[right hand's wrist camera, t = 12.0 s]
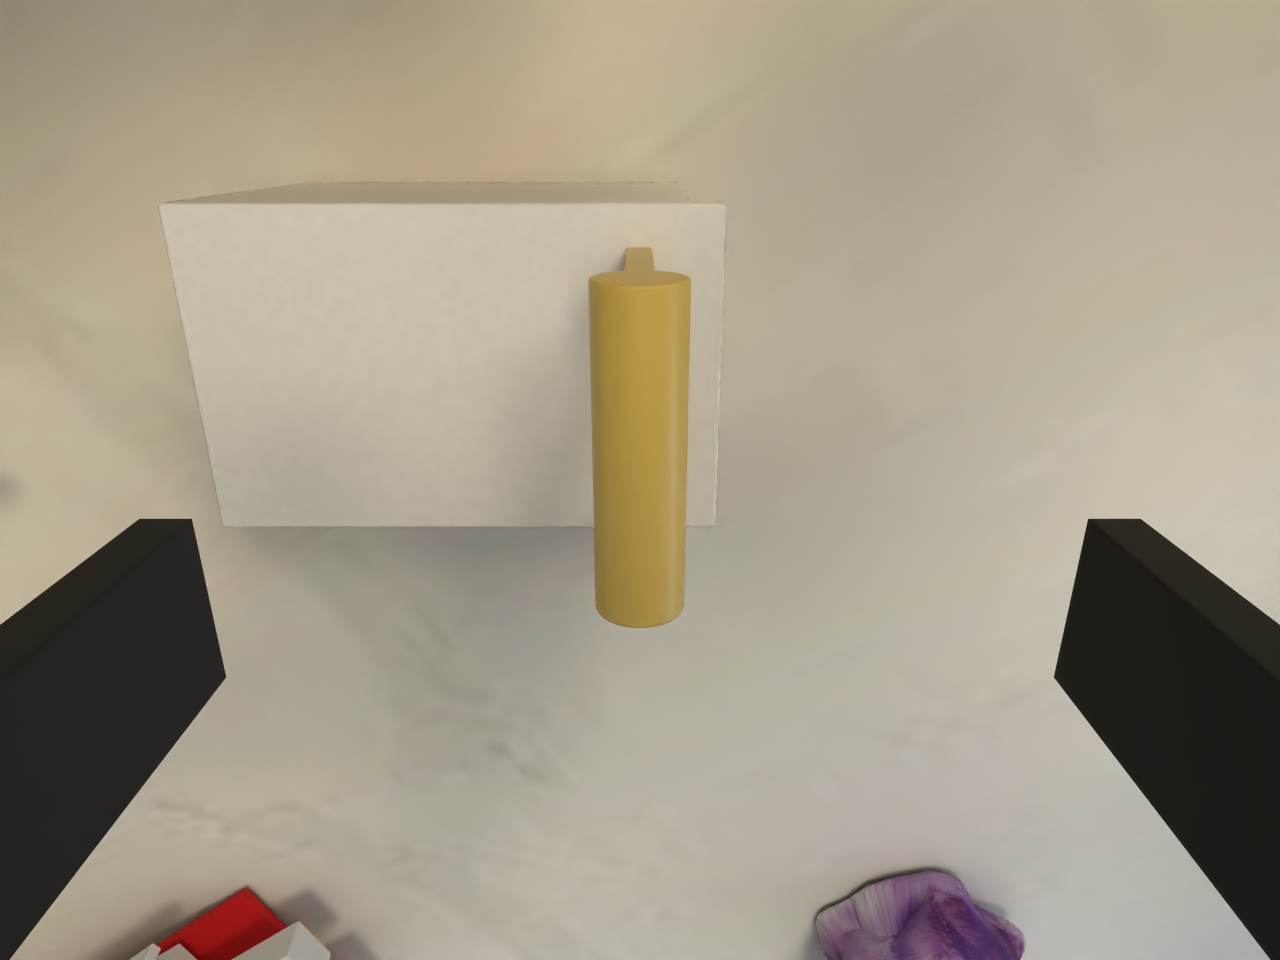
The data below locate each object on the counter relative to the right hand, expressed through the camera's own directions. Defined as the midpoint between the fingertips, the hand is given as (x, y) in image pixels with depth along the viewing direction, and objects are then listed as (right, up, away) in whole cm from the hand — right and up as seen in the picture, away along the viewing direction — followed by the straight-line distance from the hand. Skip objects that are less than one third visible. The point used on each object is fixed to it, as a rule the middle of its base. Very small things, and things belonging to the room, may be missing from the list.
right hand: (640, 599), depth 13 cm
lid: (-5, +5, +13) cm, 15 cm away
